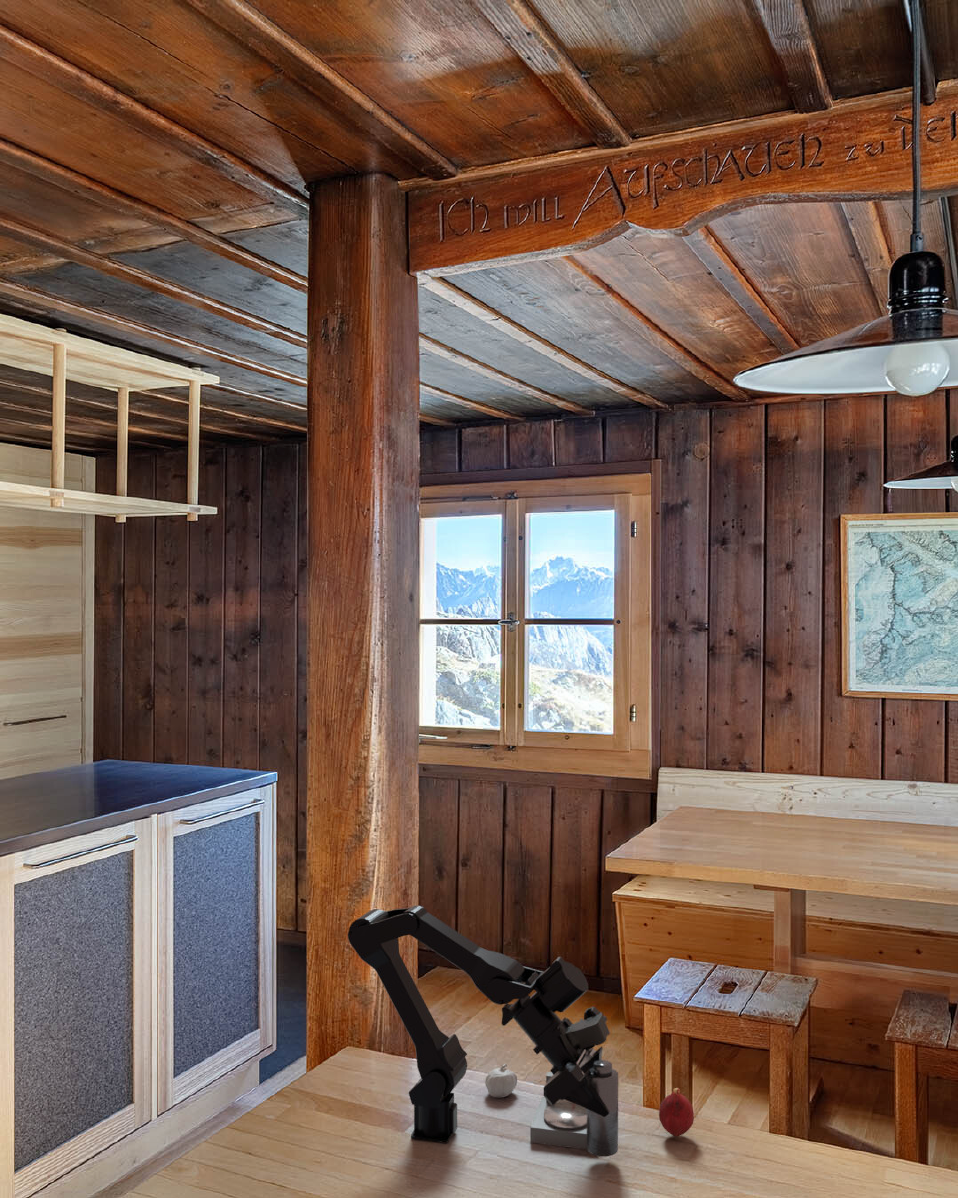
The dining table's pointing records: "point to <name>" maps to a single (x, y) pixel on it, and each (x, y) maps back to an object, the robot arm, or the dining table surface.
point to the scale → (555, 1129)
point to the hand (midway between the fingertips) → (610, 1107)
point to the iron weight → (606, 1128)
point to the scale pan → (566, 1116)
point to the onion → (676, 1113)
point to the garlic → (501, 1082)
